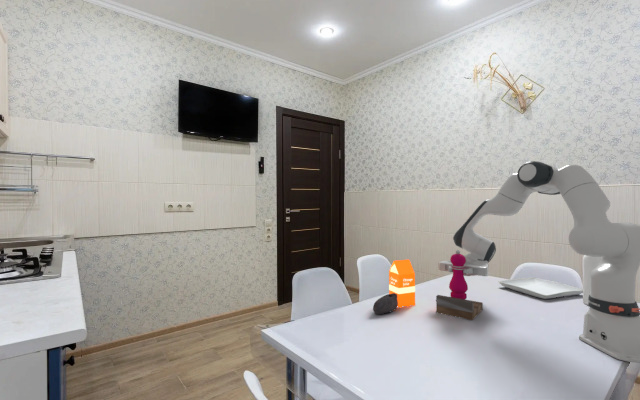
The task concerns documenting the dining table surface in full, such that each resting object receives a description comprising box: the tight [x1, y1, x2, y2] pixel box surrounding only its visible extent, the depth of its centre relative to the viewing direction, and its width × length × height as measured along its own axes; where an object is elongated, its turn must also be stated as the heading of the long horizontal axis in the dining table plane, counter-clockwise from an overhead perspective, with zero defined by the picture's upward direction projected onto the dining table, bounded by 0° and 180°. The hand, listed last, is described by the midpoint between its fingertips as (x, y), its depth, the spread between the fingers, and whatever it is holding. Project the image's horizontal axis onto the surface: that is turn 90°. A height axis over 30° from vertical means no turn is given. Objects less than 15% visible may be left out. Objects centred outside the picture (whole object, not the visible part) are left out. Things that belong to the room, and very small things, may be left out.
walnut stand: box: [435, 294, 484, 321], centre depth 137 cm, size 16×14×7 cm
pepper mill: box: [448, 249, 469, 300], centre depth 136 cm, size 7×7×20 cm
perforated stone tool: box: [372, 293, 398, 315], centre depth 137 cm, size 15×5×7 cm, turn 128°
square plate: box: [498, 277, 583, 300], centre depth 166 cm, size 27×27×4 cm
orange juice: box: [388, 259, 416, 308], centre depth 147 cm, size 8×9×20 cm
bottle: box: [582, 255, 602, 306], centre depth 144 cm, size 8×8×30 cm
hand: (457, 271), depth 135 cm, fingers closed on pepper mill, 5 cm apart
